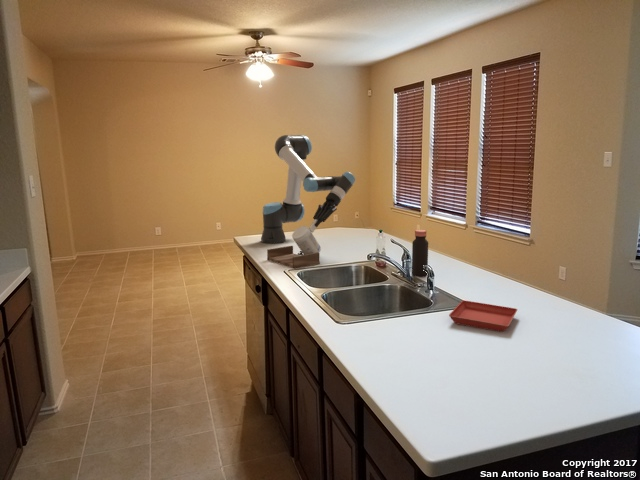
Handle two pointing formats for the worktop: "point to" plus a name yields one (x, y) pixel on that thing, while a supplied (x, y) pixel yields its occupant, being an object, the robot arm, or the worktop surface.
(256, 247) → the worktop surface
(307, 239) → the supplement tub
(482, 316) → the plant saucer
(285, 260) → the walnut tray
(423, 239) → the bottle
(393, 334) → the worktop surface
